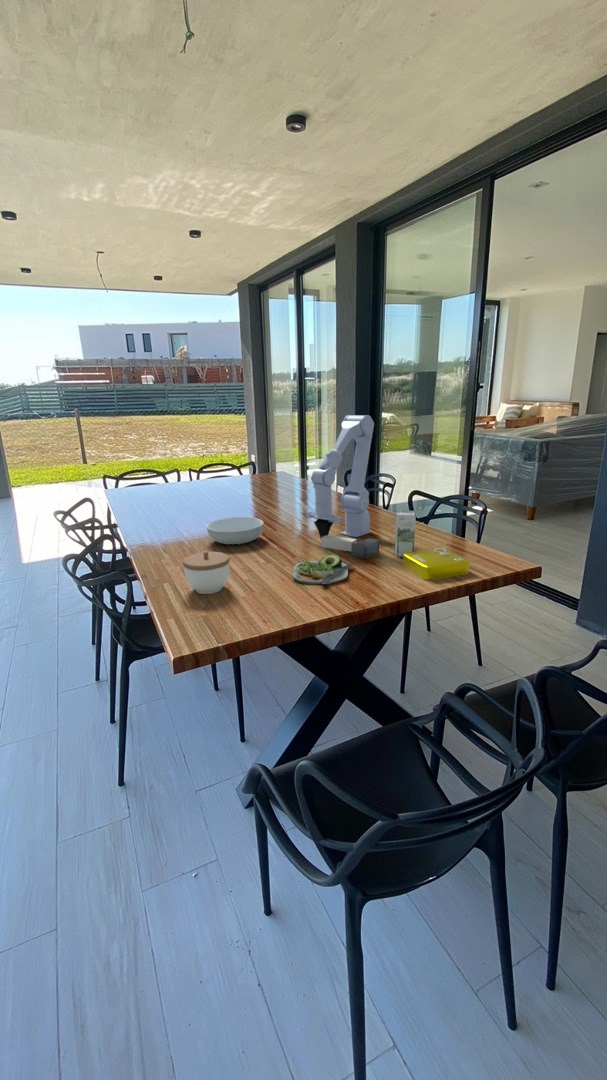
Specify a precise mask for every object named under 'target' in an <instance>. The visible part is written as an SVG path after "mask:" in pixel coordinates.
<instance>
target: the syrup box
mask: <svg viewBox="0 0 607 1080" xmlns="http://www.w3.org/2000/svg"><path fill="white" fill-rule="evenodd" d="M416 520H417V519H416V514H415V511H414V510H396V513H395V536H394V537H395V538H394V539H395V542H394V543H395V546H394V552H395V556H396V557H397V558H403V554H404V553H408V552H415V540H416V539H415V537H416Z"/></svg>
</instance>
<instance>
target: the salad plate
mask: <svg viewBox="0 0 607 1080" xmlns="http://www.w3.org/2000/svg"><path fill="white" fill-rule="evenodd" d="M352 566H353V563H344V562H342V559H341V557H340V556H339V555H338V554H327V555H324V556H323V557H321V559H320V560H319V561H308V560H306V561H301V562H299V563H296V564H295V565H294V566H293V568H292V578H293V579H294V580H296V581H297V582H299V583H302V584H306V585H328V584H329V585H330V584H334V583H338V582H341V581H343V580H346V579H347V577H348V576H349V575H348V574H349V573H348V572H349V571H348V570H349V569H350V568H352ZM301 575H302V576H303V575H305V576H310V577H312V579H304V578H303V577H301Z"/></svg>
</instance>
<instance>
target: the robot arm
mask: <svg viewBox="0 0 607 1080" xmlns="http://www.w3.org/2000/svg"><path fill="white" fill-rule="evenodd" d="M374 427H375V422H374V420H373V419H372V417H371V416H370V415H368V414H365V415H363V414H362V415H360V414H359V415H357V414H356V415H355V414H354V415H353V414H348V415H345V417H344V418H343V421H342V422H341V431H340V433H339V435H338V438H337V440H336V442H335V444H334V447H333V448H332V449H330V450H328V451H327V452H326V454H325V456H324V458H323V459H322V462H321V463H320V465H319V467H318V468H316V469H315V470H314V471H313V472H312V473H311V476H310V480H311V483H312V484H313V489H314V499H315V511H308V512H307V518H308V519H310V518H311V519H315V521H314V526H315V527H316V529H317V531H318V534H319V537H320V539H321V537H323V536H325V535H329V533H330V530H331V528H332V526H333V524H334V523H335V524H336V525H338V524H341V523H342V522H341V521H342V520H341V519H342V517H340V516H338V515H334V514H332V513H333V512H332V510H333V509H332V508H333V507H332V505H333V500H332V497H333V496H332V495H333V494H332V485H333V484H334V483H335V482H336V481H335V480H336V474H337V469H338V468H339V466H340V464H341V462H342V461H343V455H342V453H343V452H344V451H345V449H346V448H347V447H348V445H349V443H350V442H351V440H352V439H353V440H354V441H355V450H354V454H353V455H354V456H353V462H352V469H351V472H350V473H351V475H350V480H349V484H348V485H347V486H346V487H345V488H343V493H342V495H341V497H340V505H341V507H342V509H343V511H344V518H345V519H344V523H345V525H344V527H345V528H344V529H345V530H344V531H341V532H340V535H345V536H349V537H353V538H358V537H361V536H364V535H367V534H371V533H372V530H370V529H371V526H370V521H371V515H370V513H369V511H368V508H369V505H370V499H369V498H370V497H369V496H370V492H369V491H368V490H367V488H366V487H365V483H366V476H367V475H366V474H367V470H368V464H369V458H370V451H371V444H372V439H373V433H374Z"/></svg>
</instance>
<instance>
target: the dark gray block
mask: <svg viewBox="0 0 607 1080" xmlns="http://www.w3.org/2000/svg"><path fill="white" fill-rule="evenodd" d="M350 553H351V556H354V557H358V558H361V559H366V560H367V559H368V558H372V557H375V556H376V555H379V554H380V540H379V539H374V538H371V537H370V538H364V539H363V540H360V541H358V542H357V543H356V544H355V543H351V551H350Z"/></svg>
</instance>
